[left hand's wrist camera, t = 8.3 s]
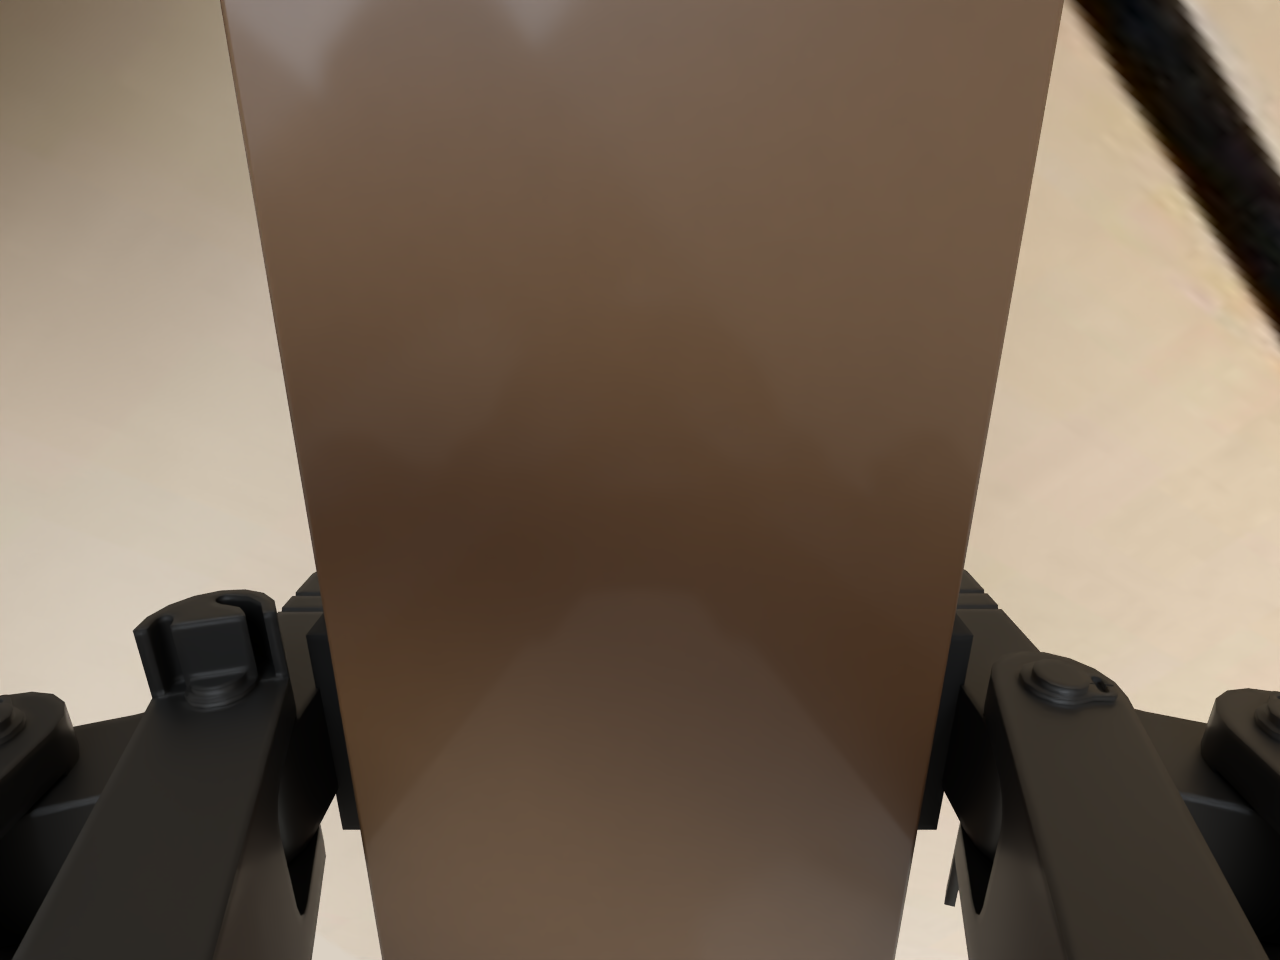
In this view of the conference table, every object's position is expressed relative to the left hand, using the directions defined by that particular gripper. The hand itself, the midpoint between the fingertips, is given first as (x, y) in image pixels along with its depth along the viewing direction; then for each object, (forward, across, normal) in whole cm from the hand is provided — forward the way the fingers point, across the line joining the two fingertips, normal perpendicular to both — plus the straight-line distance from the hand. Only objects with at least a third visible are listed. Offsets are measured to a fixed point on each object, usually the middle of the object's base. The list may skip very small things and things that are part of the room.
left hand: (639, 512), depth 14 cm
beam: (+1, 0, -26) cm, 26 cm away
